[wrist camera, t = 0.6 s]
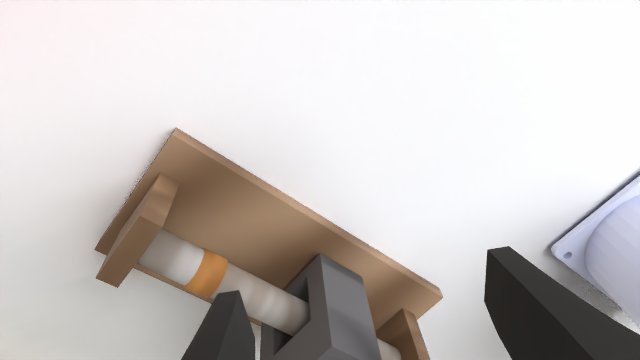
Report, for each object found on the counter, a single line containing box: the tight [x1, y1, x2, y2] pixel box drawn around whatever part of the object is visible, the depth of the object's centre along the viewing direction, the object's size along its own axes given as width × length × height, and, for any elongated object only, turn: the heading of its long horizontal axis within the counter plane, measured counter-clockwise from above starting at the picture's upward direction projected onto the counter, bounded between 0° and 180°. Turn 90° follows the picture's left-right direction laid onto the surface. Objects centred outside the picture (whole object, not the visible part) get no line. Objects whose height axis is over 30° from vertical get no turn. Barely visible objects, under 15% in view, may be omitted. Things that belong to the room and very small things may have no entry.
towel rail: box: [95, 128, 443, 360], centre depth 23 cm, size 18×8×4 cm, turn 52°
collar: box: [260, 253, 382, 360], centre depth 22 cm, size 3×5×6 cm, turn 141°
